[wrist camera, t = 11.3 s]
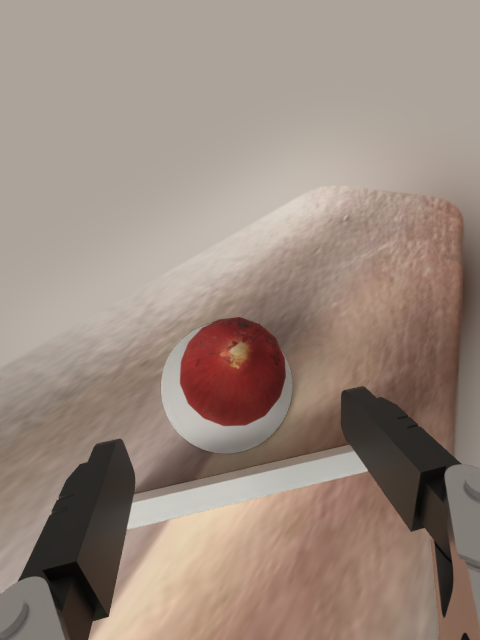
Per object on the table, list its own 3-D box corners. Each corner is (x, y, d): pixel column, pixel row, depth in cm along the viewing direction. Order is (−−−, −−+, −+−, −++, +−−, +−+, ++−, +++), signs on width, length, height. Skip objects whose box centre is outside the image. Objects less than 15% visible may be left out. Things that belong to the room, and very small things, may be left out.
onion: (206, 331, 20) (200, 269, 13) (281, 357, 20) (320, 309, 12) (173, 410, 18) (142, 389, 10) (257, 441, 17) (287, 443, 10)
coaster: (169, 467, 17) (167, 468, 17) (158, 335, 21) (155, 332, 20) (306, 436, 18) (309, 436, 17) (273, 315, 22) (274, 311, 21)
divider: (129, 515, 16) (99, 536, 12) (128, 495, 16) (99, 510, 13) (382, 455, 18) (421, 458, 14) (376, 438, 18) (412, 437, 14)
